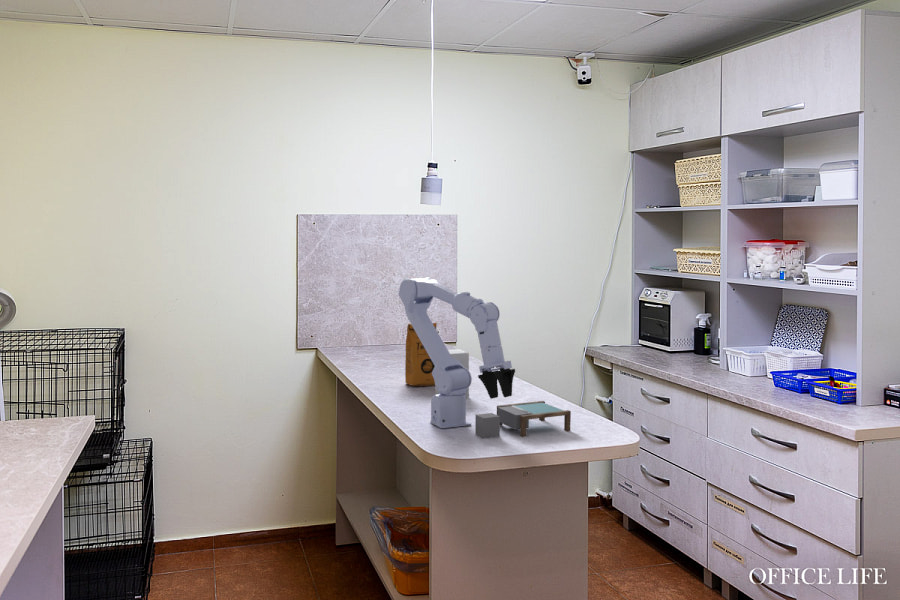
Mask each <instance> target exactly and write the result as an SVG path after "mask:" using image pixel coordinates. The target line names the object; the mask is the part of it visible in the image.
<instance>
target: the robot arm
mask: <svg viewBox="0 0 900 600" xmlns="http://www.w3.org/2000/svg"><path fill="white" fill-rule="evenodd" d="M398 296H399V299H400V300H401V302H402V304H403V306H404V311H405V314H406V317H407V319H408V321H409V324H411V325H412V326H413V328H414V330H415V332H416V334H417V335H418V337H419V339H420V341H421V342H422V344H423V346H424V348H425V350H426V351H427V353H428V355H429V357H430V358H431V360H432V362H433V364H434V366H435V367H434V369H433V372H432V376H433V378H434V381H435V385H434V386H435V389H436V388H437V390H438V391H439V394H437V395H436V394H433V395H432V397H431V402H430V421H429V423H431V425H435V426H436V427H439V428H440V429H449V428H456V427H457V428H458V427H466V426H472V422H469V421H467V419H466V418H467V417H466V416H467V401H466V400H467V398H466V392H467V388H468V387H469V388H470V387H471V385H472V374H471V372H470V370H469V371H468V370H467V369H466V368H465V367H464V366H463V365H462V363H461V362H460V361H458V360H456V359H454V358H453V357H452V356H451V355H450V353H449V351H448V350H449V349H448V348H447V346H446V344H445V342H444V340H443V339H442V338H441V336H440V334H439V332H438V330H437V328H435V327H434V325H433V323H434V322H432V320H431V317H430V316H429V315H428V313H427V311H428V309H429V308H430V306H431V303H432V302H433V299H434V298H435V299H438V300H440V301H442V302H445V303H447V304H450V305H451V306H452V309H453V310H454V312H456V313H458V314H460V315H462V316H464V317H466V318H468V319H469V320H470V322H471V323H472V324H473V326H474V328H475V331H476V332H477V336H478V343H479V347H480V354H481V357H482V362H483V365H479V366H478V368H479V373H480V374H479V375H477V377H478V379H479V380H480V381H481V383H482V384H483V386H484V387H485V389H486V391H487V394H488V396H489V398H490V399H497V398H499V390H498V389H499V388H498V384H499V386H500V390H501V393H502V396H503V398H508V397H512V395H513V383H514V382H513V381H514V375H515V373H516V368H513V366H512V362H511V361H512V360H505V357H504V356H505V355H504V351H503V346H502V340H501V336H500V330H499V326H498V321H499V320H500V309H499V307H498V305H496V304H495V303H494V302H484V300H483V299H482V298H476V297H474V296H472V295H471V293H470V292H469V291H464V292H459V293H457V292H455V291H453V290H451V289H450V288H448V287H446V286H445V285H442V284H441V283H440V282H438V281H437V279H433V278H431V277H423V278H404V279H403V280H402V281H401V282H400V286H399V290H398Z"/></svg>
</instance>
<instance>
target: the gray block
mask: <svg viewBox="0 0 900 600" xmlns="http://www.w3.org/2000/svg"><path fill="white" fill-rule="evenodd" d="M474 426H475V430H474V432H475V436H477V437H479V438H480V439H491V438H499V437H500V435H501V433H500V432H501V426H500V416H498V415H497V414H495V413H493V412H490V413H480V414H479V413H478V414H475V425H474Z"/></svg>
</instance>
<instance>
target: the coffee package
mask: <svg viewBox="0 0 900 600" xmlns="http://www.w3.org/2000/svg"><path fill="white" fill-rule="evenodd" d="M432 323H433V325H434V327H435V328H436V329H437V322H432ZM406 329H407V330H406V332H407V333H406V339H405V358H404V359H405V361H404V362H405V364H404V365H405V369H404V370H405V371H404V372H405V373H404V375H405V377H404V378H405V379H404V380H405V384H407V385H410V386H415V387H424V386H425V387H431V386H435V381H434V378H433V376H432V372H433V369H434V367H435V366H434V364H433V362H432V360H431V358H430V357H429V355H428V353H427V351H426V350H425V348H424V346H423V344H422V342H421V341H420V339H419V337H418V335H417V334H416V332H415V330H414V328H413V326H412V325H411V323H407V327H406Z"/></svg>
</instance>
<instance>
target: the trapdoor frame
mask: <svg viewBox="0 0 900 600" xmlns="http://www.w3.org/2000/svg"><path fill="white" fill-rule="evenodd" d="M534 403H545V404H546V401H544V400H537V401H528V402H520V403H511V404H502V405H501V404H500V405H496V415H498V407H507V406H512V405H513V406H515V405H525V404H534ZM571 412H572V411H571V410H569V409H568V410H567V409H566V410H564V411H557V412H548V413H539V414H530V415H521V416H520V429H519V436H520V437H522V438H524V437H527V429H526V426H527V420H529V421H530V420H536V419H538V420H539V421H542V422H543V421H546V420H545V419H546V418H553V417H563V416H564V421H563V425H564V427H563V431H565V432H570V431H571V416H572V415H571ZM501 426H503V424H502V423H500V427H501Z"/></svg>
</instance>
